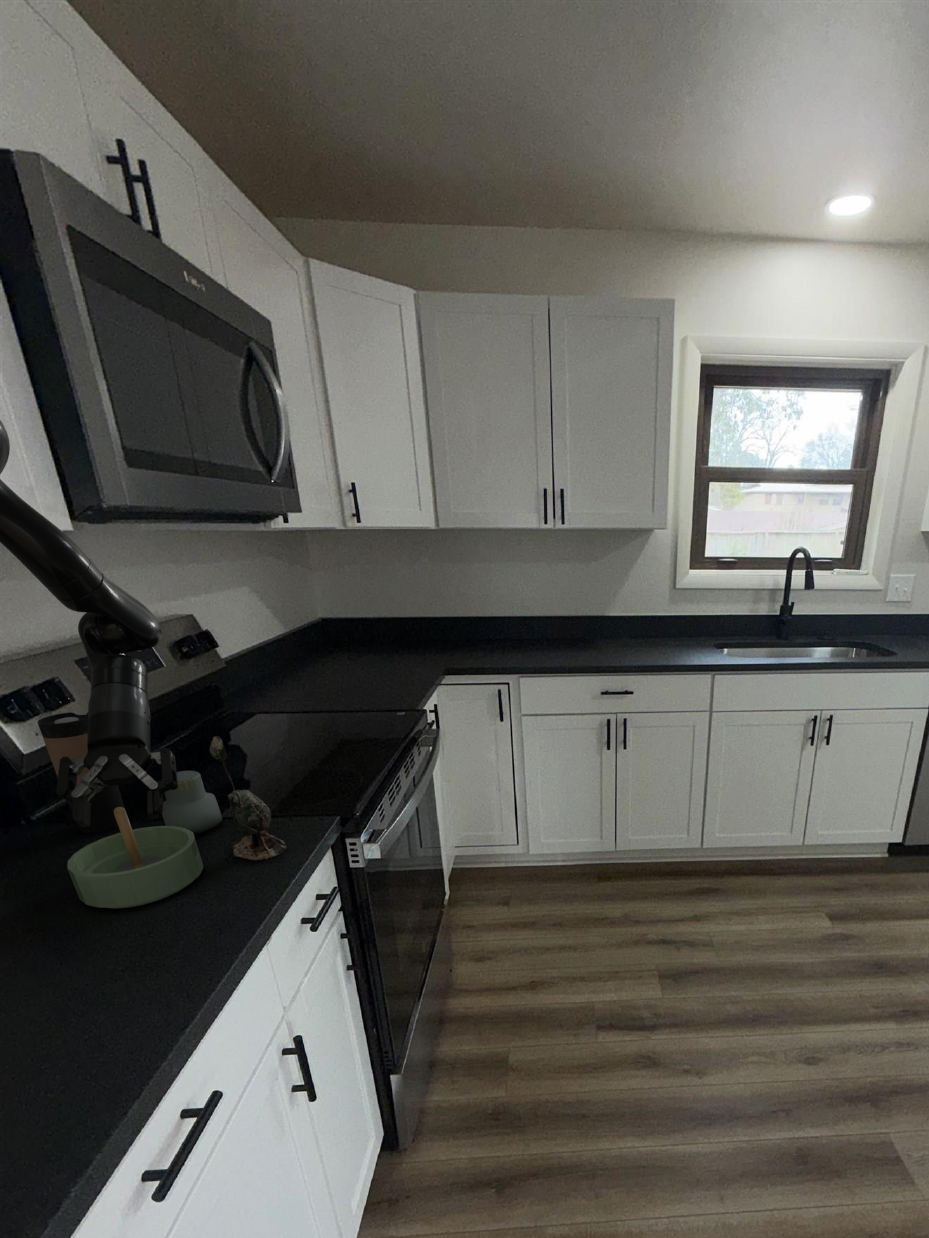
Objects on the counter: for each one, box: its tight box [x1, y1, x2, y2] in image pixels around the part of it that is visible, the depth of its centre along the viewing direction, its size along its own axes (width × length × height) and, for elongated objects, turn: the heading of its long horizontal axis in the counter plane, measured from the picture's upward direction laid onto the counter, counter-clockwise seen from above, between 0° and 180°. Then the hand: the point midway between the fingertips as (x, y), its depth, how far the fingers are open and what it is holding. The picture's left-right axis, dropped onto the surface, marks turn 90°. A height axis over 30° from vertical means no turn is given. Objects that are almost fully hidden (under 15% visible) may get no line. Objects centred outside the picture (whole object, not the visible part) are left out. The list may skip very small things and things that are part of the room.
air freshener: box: [161, 770, 223, 835], centre depth 113 cm, size 11×8×10 cm
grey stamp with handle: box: [114, 807, 162, 872], centre depth 96 cm, size 6×6×12 cm
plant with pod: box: [209, 735, 288, 862], centre depth 103 cm, size 8×11×20 cm
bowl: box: [66, 825, 204, 909], centre depth 97 cm, size 16×16×6 cm
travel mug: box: [37, 711, 126, 834], centre depth 113 cm, size 8×8×20 cm
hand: (118, 820), depth 92 cm, fingers open, 8 cm apart
